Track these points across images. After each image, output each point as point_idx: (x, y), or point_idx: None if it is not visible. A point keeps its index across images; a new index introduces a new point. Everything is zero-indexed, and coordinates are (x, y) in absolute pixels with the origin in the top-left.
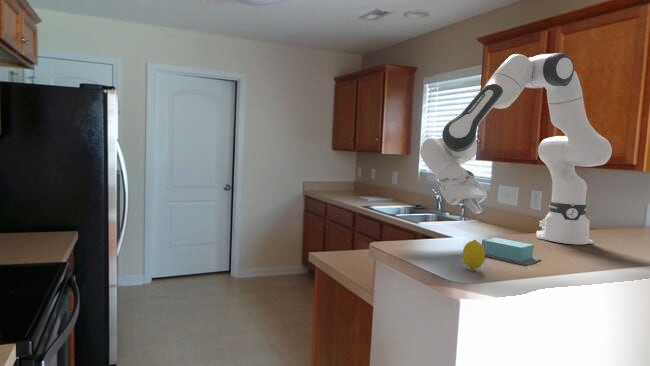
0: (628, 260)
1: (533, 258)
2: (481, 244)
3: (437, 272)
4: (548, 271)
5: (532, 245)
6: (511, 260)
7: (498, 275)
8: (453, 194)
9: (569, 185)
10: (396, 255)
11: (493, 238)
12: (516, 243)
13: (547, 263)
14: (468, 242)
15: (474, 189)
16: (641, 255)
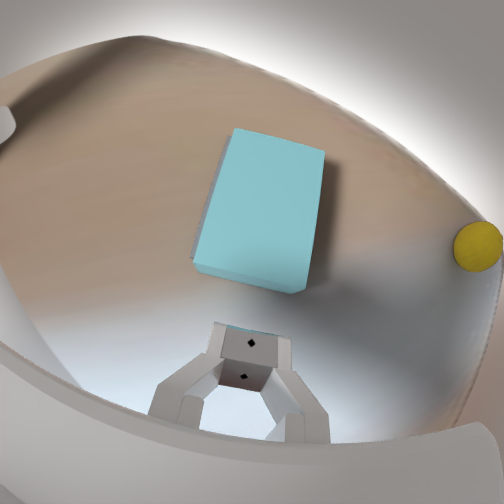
0: (98, 52)
1: None
2: (489, 225)
3: (492, 298)
4: (337, 124)
5: (244, 130)
6: None
7: (445, 206)
8: (496, 448)
9: None
10: (450, 424)
11: (225, 260)
12: (262, 170)
13: (252, 125)
14: (499, 253)
15: (48, 486)
16: (48, 59)
